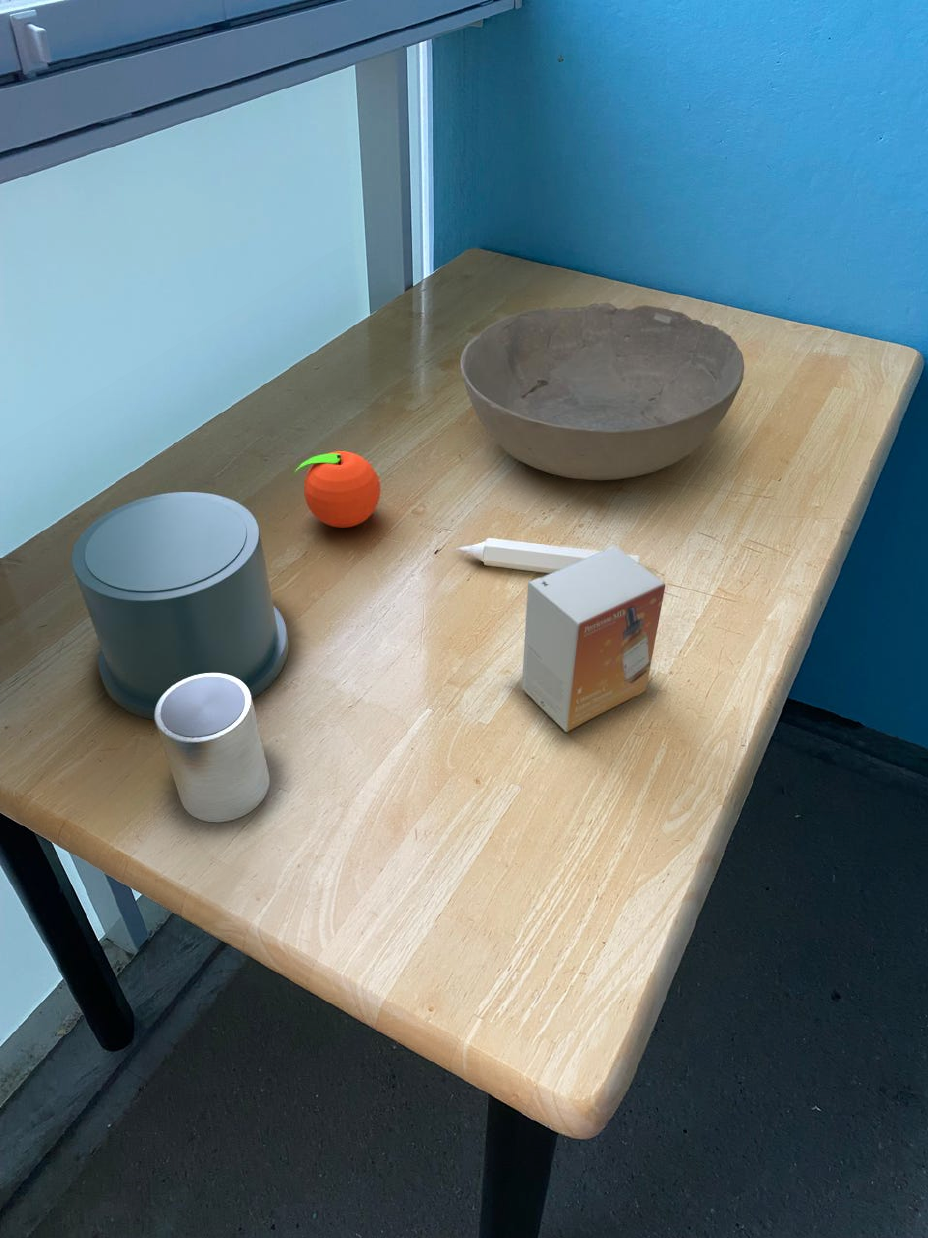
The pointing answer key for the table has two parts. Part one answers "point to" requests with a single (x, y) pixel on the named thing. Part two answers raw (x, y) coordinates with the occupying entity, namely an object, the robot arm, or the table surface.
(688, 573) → the table surface
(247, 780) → the cup
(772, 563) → the table surface
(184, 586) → the blue flanged cylinder
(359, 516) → the clementine
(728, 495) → the table surface
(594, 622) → the small box
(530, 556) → the white pencil
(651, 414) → the bowl
